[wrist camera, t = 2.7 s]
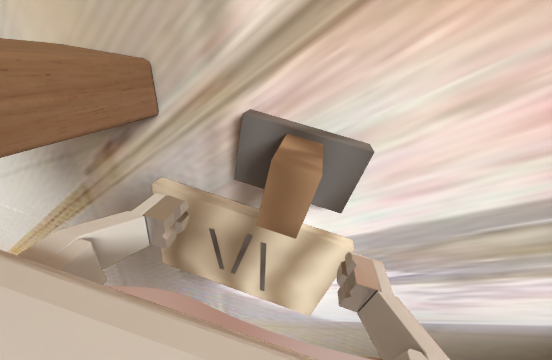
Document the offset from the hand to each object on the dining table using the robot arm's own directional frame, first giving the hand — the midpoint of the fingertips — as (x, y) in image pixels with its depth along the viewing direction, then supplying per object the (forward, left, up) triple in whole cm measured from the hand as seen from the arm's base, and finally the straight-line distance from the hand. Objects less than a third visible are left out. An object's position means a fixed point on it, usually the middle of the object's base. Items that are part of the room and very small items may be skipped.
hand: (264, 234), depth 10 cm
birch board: (+2, +14, -9) cm, 17 cm away
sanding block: (-1, 0, -10) cm, 10 cm away
